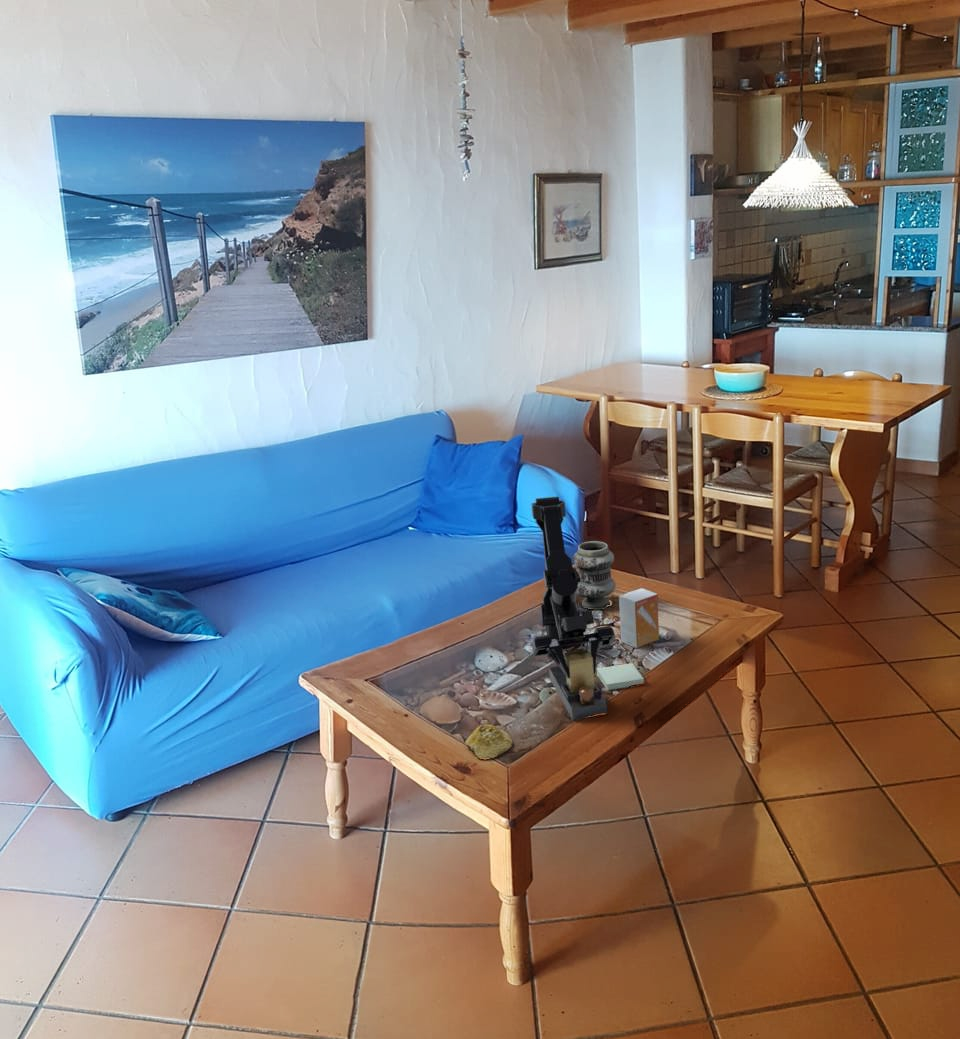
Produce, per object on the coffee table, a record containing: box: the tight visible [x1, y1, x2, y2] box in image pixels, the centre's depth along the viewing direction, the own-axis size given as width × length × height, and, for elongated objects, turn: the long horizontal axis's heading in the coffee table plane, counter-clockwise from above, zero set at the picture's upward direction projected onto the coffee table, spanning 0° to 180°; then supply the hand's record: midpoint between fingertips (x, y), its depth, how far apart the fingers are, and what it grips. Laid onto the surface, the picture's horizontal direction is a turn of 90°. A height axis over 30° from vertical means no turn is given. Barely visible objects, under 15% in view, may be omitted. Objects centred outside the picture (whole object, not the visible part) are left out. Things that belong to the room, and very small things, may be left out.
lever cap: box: [563, 648, 595, 693], centre depth 220 cm, size 5×6×8 cm
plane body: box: [548, 665, 608, 721], centre depth 225 cm, size 22×8×6 cm, turn 9°
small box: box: [618, 587, 660, 649], centre depth 251 cm, size 8×6×13 cm
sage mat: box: [596, 662, 645, 691], centre depth 232 cm, size 9×9×2 cm
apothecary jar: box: [572, 540, 616, 610], centre depth 277 cm, size 12×12×18 cm
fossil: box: [465, 724, 513, 759], centre depth 208 cm, size 11×6×10 cm
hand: (581, 675), depth 219 cm, fingers closed on lever cap, 5 cm apart
